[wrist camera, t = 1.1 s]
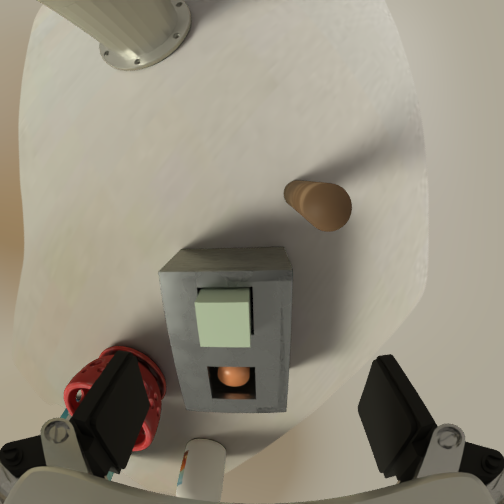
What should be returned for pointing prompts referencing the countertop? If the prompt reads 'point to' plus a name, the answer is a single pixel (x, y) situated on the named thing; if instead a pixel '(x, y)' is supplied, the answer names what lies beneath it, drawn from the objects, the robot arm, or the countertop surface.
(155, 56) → the robot arm
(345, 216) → the stylus dowel
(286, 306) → the grey box
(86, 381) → the plant pot
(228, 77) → the countertop surface
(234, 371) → the orange ball
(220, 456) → the milk bottle
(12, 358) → the countertop surface
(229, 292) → the on button
